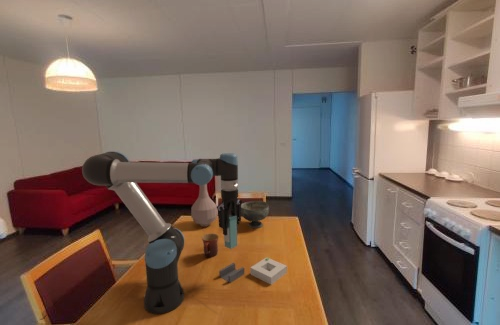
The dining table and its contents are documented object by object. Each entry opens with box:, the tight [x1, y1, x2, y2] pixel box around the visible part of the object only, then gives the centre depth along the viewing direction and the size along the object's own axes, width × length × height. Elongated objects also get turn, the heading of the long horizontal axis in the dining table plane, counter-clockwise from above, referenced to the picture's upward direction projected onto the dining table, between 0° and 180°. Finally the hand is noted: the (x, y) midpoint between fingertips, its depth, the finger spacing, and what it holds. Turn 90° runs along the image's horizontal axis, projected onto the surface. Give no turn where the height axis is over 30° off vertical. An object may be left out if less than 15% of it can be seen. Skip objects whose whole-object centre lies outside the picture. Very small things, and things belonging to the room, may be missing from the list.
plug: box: [224, 213, 238, 250], centre depth 115 cm, size 4×4×14 cm
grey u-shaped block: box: [218, 262, 245, 284], centre depth 118 cm, size 9×7×4 cm
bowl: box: [241, 200, 270, 229], centre depth 176 cm, size 20×19×15 cm
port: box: [249, 257, 288, 285], centre depth 119 cm, size 12×12×5 cm
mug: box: [201, 233, 219, 259], centre depth 136 cm, size 12×9×10 cm
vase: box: [190, 183, 218, 227], centre depth 178 cm, size 18×18×30 cm
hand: (230, 239), depth 115 cm, fingers closed on plug, 4 cm apart
